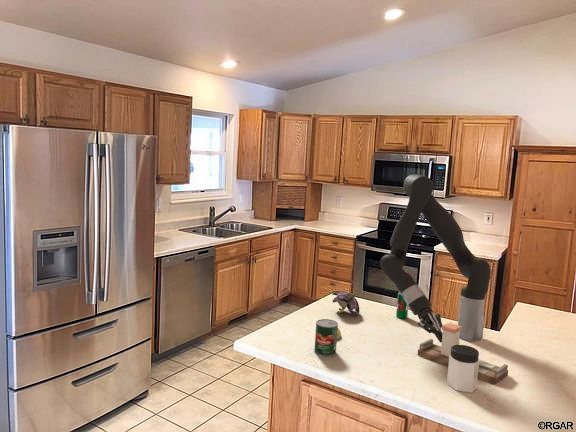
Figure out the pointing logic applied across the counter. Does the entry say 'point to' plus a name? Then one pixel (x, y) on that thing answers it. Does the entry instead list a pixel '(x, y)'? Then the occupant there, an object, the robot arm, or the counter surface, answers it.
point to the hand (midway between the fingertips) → (443, 341)
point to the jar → (463, 368)
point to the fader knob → (450, 337)
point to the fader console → (434, 353)
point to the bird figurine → (346, 301)
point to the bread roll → (338, 334)
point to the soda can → (401, 307)
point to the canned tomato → (326, 337)
